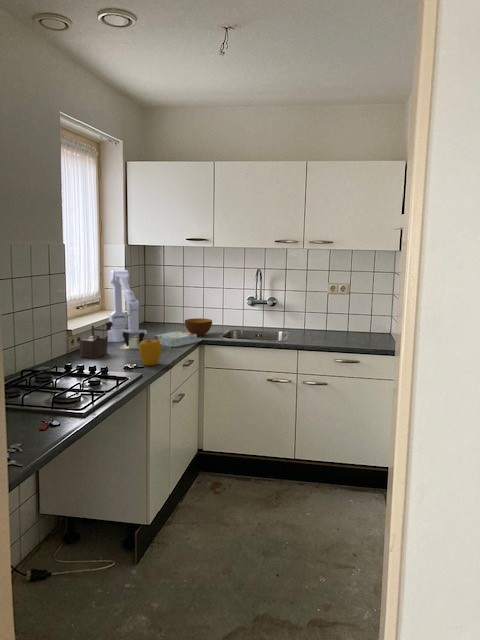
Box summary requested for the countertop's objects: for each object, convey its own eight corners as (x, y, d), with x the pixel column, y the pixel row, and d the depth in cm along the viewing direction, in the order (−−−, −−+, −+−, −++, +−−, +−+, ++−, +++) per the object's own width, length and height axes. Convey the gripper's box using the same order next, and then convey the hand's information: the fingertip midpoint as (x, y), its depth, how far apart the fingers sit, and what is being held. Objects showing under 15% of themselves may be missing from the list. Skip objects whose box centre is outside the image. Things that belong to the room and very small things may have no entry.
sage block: (129, 348, 302) (128, 339, 301) (131, 346, 306) (131, 338, 305) (136, 348, 301) (136, 339, 300) (139, 346, 306) (138, 338, 305)
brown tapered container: (95, 359, 278) (94, 325, 275) (79, 356, 283) (78, 323, 281) (115, 353, 292) (114, 321, 289) (100, 351, 297) (99, 319, 294)
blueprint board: (118, 349, 302) (118, 348, 302) (130, 341, 326) (130, 340, 325) (148, 350, 301) (148, 348, 300) (158, 342, 324) (158, 340, 324)
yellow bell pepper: (163, 362, 273) (162, 337, 271) (159, 367, 262) (159, 341, 260) (141, 361, 273) (140, 337, 271) (137, 367, 262) (136, 341, 260)
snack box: (154, 344, 316) (173, 347, 307) (154, 335, 315) (173, 338, 306) (178, 339, 333) (197, 342, 324) (178, 330, 332) (197, 333, 323)
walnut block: (133, 345, 310) (132, 337, 309) (135, 343, 314) (135, 335, 313) (140, 345, 309) (140, 337, 308) (142, 344, 314) (142, 335, 313)
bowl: (187, 338, 335) (187, 323, 333) (182, 334, 351) (182, 318, 350) (214, 337, 339) (214, 322, 338) (209, 332, 356) (208, 318, 355)
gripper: (118, 323, 298) (119, 347, 300) (144, 323, 297) (144, 347, 299) (122, 321, 305) (123, 344, 307) (147, 321, 304) (147, 345, 306)
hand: (134, 346), depth 303 cm, fingers open, 7 cm apart
